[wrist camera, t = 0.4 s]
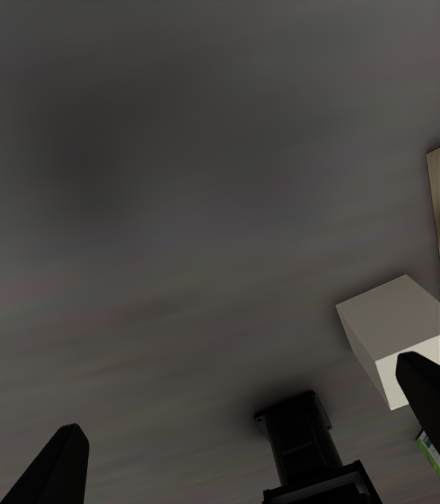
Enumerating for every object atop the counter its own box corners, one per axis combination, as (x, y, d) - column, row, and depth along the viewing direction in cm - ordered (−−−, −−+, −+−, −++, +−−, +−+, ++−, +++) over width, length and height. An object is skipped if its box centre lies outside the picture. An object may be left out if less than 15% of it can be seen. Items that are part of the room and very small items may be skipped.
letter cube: (417, 322, 28) (473, 378, 23) (352, 350, 28) (391, 410, 23) (407, 272, 25) (468, 323, 20) (334, 304, 26) (374, 361, 20)
